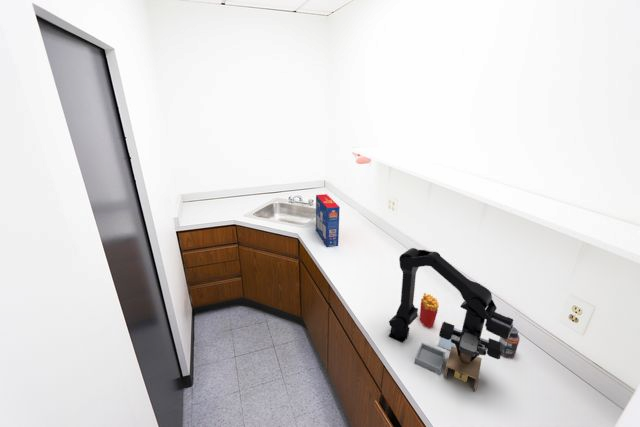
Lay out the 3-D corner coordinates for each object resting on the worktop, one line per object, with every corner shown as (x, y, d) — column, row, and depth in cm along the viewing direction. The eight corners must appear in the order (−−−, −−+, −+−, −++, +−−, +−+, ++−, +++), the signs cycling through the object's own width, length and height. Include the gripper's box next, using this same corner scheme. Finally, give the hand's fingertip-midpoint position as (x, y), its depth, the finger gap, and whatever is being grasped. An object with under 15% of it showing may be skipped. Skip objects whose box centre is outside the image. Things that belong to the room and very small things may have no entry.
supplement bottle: (508, 346, 117) (515, 323, 113) (518, 358, 112) (525, 335, 108) (493, 346, 117) (500, 323, 113) (502, 358, 111) (509, 335, 107)
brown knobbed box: (443, 377, 104) (448, 356, 100) (449, 358, 112) (453, 337, 108) (474, 391, 99) (481, 369, 95) (478, 370, 107) (484, 349, 103)
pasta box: (338, 246, 197) (339, 206, 187) (326, 247, 195) (327, 207, 185) (326, 229, 222) (326, 194, 212) (315, 230, 220) (316, 195, 210)
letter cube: (453, 377, 104) (455, 368, 103) (455, 368, 107) (457, 360, 106) (466, 382, 102) (468, 374, 101) (467, 373, 105) (469, 365, 104)
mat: (437, 345, 117) (437, 345, 117) (444, 324, 128) (444, 324, 128) (476, 361, 110) (476, 360, 110) (480, 337, 121) (480, 337, 121)
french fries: (416, 316, 133) (420, 292, 128) (424, 315, 134) (428, 291, 129) (428, 331, 125) (433, 305, 120) (437, 329, 126) (442, 304, 121)
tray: (414, 363, 109) (415, 358, 108) (420, 347, 116) (421, 342, 115) (439, 374, 105) (440, 369, 104) (444, 357, 112) (445, 352, 111)
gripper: (439, 326, 96) (432, 361, 102) (505, 350, 87) (493, 388, 92) (446, 307, 105) (439, 341, 111) (506, 328, 96) (495, 363, 101)
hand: (465, 357), depth 103 cm, fingers closed on brown knobbed box, 4 cm apart
